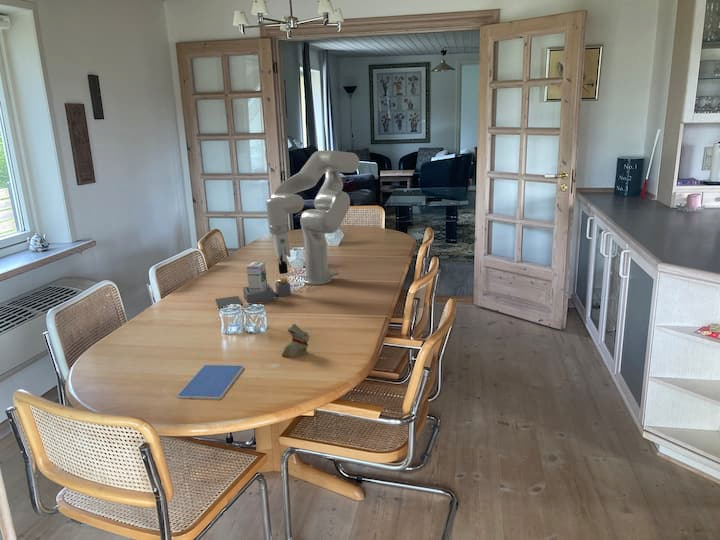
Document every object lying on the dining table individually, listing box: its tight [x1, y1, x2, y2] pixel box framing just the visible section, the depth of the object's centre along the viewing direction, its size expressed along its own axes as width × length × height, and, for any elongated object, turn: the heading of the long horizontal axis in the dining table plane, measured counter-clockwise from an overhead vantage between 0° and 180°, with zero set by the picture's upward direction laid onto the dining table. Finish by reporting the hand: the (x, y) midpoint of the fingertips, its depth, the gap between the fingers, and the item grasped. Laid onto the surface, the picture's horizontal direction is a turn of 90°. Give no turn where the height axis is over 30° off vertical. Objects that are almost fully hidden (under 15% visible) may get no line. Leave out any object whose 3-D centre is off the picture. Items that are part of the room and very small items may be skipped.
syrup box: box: [245, 261, 268, 293], centre depth 227 cm, size 6×6×14 cm
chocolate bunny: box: [281, 323, 310, 358], centre depth 174 cm, size 6×8×10 cm
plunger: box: [276, 277, 288, 285], centre depth 231 cm, size 4×4×6 cm
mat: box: [215, 295, 243, 309], centre depth 225 cm, size 9×11×1 cm
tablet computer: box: [176, 364, 245, 401], centre depth 159 cm, size 19×13×1 cm, turn 172°
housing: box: [242, 280, 292, 304], centre depth 230 cm, size 18×11×5 cm, turn 109°
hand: (283, 272), depth 231 cm, fingers closed
